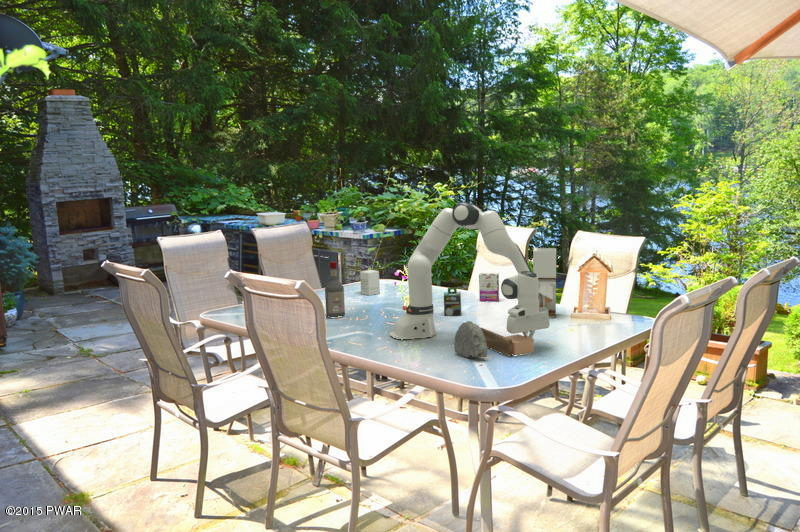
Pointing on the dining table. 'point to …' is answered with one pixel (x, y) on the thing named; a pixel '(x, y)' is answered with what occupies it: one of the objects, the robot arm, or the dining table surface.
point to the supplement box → (370, 282)
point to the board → (498, 342)
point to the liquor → (334, 294)
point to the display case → (546, 278)
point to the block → (521, 344)
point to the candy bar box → (489, 286)
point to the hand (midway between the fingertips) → (528, 340)
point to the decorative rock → (470, 341)
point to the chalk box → (452, 303)
